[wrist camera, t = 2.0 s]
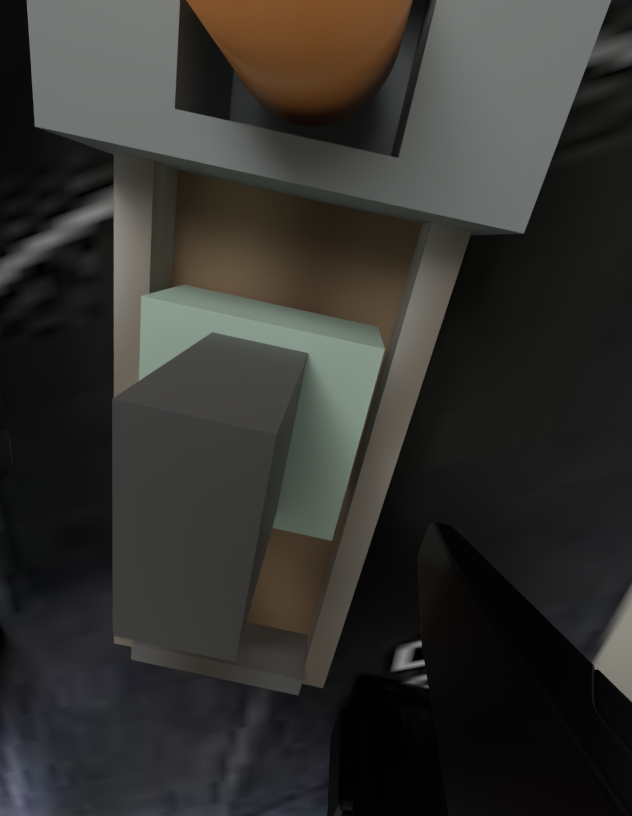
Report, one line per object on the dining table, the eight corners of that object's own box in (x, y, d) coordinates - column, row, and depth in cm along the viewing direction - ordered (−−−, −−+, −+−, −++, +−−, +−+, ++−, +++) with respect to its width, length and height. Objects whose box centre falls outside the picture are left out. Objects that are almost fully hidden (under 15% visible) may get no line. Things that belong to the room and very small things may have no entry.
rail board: (445, 232, 13) (478, 229, 9) (327, 625, 20) (322, 700, 17) (165, 171, 13) (102, 147, 9) (147, 586, 20) (107, 654, 16)
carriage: (378, 326, 12) (410, 431, 6) (335, 489, 15) (321, 698, 8) (184, 284, 12) (-16, 337, 6) (172, 454, 15) (22, 633, 8)
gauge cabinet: (549, -43, 10) (715, -280, 6) (461, 235, 13) (523, 233, 8) (159, -130, 10) (-2, -439, 5) (149, 167, 13) (35, 126, 8)
